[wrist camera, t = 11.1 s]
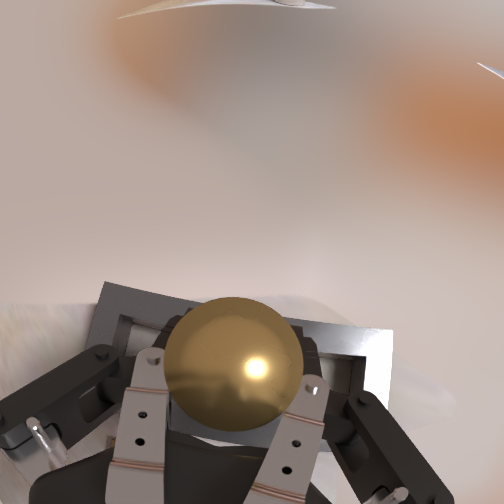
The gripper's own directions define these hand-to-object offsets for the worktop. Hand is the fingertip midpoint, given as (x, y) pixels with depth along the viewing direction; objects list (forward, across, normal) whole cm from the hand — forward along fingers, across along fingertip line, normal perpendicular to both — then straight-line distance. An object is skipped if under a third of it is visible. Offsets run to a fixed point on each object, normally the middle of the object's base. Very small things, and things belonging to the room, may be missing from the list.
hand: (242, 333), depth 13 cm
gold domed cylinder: (+2, 0, +5) cm, 5 cm away
